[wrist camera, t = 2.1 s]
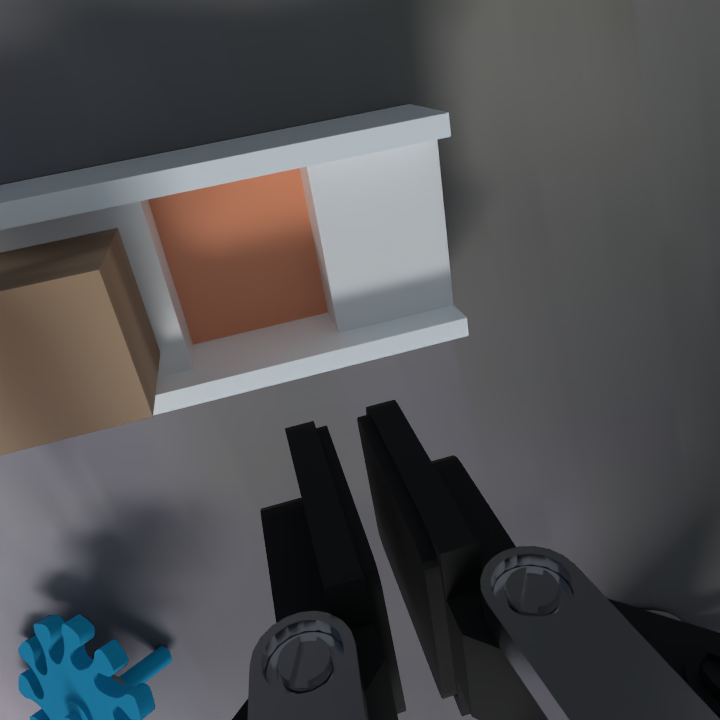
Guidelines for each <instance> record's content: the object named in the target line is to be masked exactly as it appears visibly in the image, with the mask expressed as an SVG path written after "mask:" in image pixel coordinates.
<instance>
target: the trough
mask: <svg viewBox="0 0 720 720" xmlns="http://www.w3.org/2000/svg"><path fill="white" fill-rule="evenodd" d="M447 137H451V132H450V121H449V113H448V112H444V111H439V110H435V109H431V108H426V107H422V106H417V105H413V104H407V105H402V106H397V107H392V108H387V109H382V110H376V111H371V112H366V113H361V114H356V115H351V116H346V117H341V118H336V119H331V120H326V121H321V122H316V123H311V124H306V125H301V126H296V127H291V128H286V129H281V130H276V131H271V132H266V133H261V134H256V135H250V136H245V137H240V138H235V139H230V140H225V141H220V142H215V143H210V144H205V145H200V146H195V147H190V148H185V149H180V150H175V151H170V152H165V153H160V154H155V155H150V156H145V157H140V158H135V159H129V160H124V161H119V162H114V163H109V164H104V165H99V166H94V167H89V168H84V169H79V170H74V171H69V172H64V173H59V174H54V175H49V176H44V177H39V178H34V179H29V180H24V181H19V182H14V183H8V184H3V185H0V253H1V252H6V251H11V250H15V249H20V248H25V247H30V246H34V245H39V244H44V243H49V242H53V241H58V240H63V239H67V238H72V237H77V236H82V235H86V234H91V233H96V232H100V231H105V230H110V229H115V228H118V230H119V233H120V236H121V239H122V242H123V245H124V248H125V251H126V253H127V256H128V259H129V262H130V265H131V268H132V271H133V274H134V277H135V280H136V283H137V286H138V289H139V292H140V294H141V297H142V300H143V303H144V306H145V309H146V312H147V315H148V318H149V321H150V324H151V327H152V330H153V333H154V335H155V338H156V341H157V344H158V347H159V350H160V360H159V369H158V377H157V386H156V395H155V403H154V412H153V415H157V414H160V413H164V412H168V411H172V410H176V409H180V408H184V407H188V406H192V405H196V404H200V403H204V402H208V401H212V400H216V399H220V398H224V397H228V396H232V395H236V394H240V393H244V392H248V391H252V390H255V389H259V388H263V387H267V386H271V385H275V384H279V383H283V382H287V381H291V380H295V379H299V378H303V377H307V376H311V375H315V374H319V373H323V372H327V371H331V370H335V369H339V368H343V367H346V366H350V365H354V364H358V363H362V362H366V361H370V360H374V359H378V358H382V357H386V356H390V355H394V354H398V353H402V352H406V351H410V350H414V349H418V348H422V347H426V346H430V345H434V344H438V343H441V342H445V341H449V340H453V339H457V338H461V337H465V336H468V325H467V317H466V316H464V315H463V314H462V313H461V312H460V311H459V310H458V309H457V308H456V307H455V306H454V305H453V295H452V284H451V274H450V264H449V254H448V243H447V233H446V223H445V213H444V203H443V192H442V182H441V172H440V162H439V151H438V141H437V139H442V138H447Z"/></svg>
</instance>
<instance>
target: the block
mask: <svg viewBox="0 0 720 720" xmlns="http://www.w3.org/2000/svg"><path fill="white" fill-rule="evenodd" d="M159 360H160V350H159V347H158V344H157V341H156V338H155V335H154V333H153V330H152V327H151V324H150V321H149V318H148V315H147V312H146V309H145V306H144V303H143V300H142V297H141V294H140V292H139V289H138V286H137V283H136V280H135V277H134V274H133V271H132V268H131V265H130V262H129V259H128V256H127V253H126V251H125V248H124V245H123V242H122V239H121V236H120V233H119V230H118V228H115V229H110V230H105V231H100V232H96V233H91V234H86V235H82V236H77V237H72V238H67V239H63V240H58V241H53V242H49V243H44V244H39V245H34V246H30V247H25V248H20V249H15V250H11V251H6V252H1V253H0V455H4V454H8V453H12V452H16V451H20V450H24V449H27V448H31V447H35V446H39V445H43V444H47V443H51V442H55V441H59V440H63V439H67V438H71V437H75V436H79V435H83V434H87V433H91V432H95V431H99V430H103V429H107V428H111V427H114V426H118V425H122V424H126V423H130V422H134V421H138V420H142V419H146V418H150V417H153V412H154V403H155V395H156V386H157V377H158V369H159Z"/></svg>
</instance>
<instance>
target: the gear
mask: <svg viewBox="0 0 720 720" xmlns="http://www.w3.org/2000/svg"><path fill="white" fill-rule="evenodd" d="M34 631H35V634H36V635H35V636H33V637H31V638H30V639H28V640H26V641H24V642H23V643H22V644H21V645H20V647H19V649H18V650H19V653H20V655H21V657H22V658H23V660H24V661H25V662H26V663H27V664H28V665H29V666H30V667H31V668H30V669H28V670H26V671H25V672H23V673H22V674H20V676H19V691H20V692H21V694H22V695H23V696H24V697H26V698H29V699H31V700H33V701H34V702H36V703H37V704H38V705H39V706H40V707H41V708H42V709H41V710H39V711H38V712H36V713H35V714H34V715H32V716H31V717H30V720H142V719H143V718H145V717H146V716H147V715H148V714H149V713H151V712H152V711H153V710H154V709H155V704H154V699H153V696H152V693H151V690H150V687H149V686H148V685H147V684H145V682H146V681H148V680H149V679H150V678H151V677H153V676H154V675H155V674H157V673H158V672H159V671H160V670H162V669H163V668H164V667H166V666H167V665H168V664H169V663H170V662H171V660H172V657H171V654H170V652H169V650H168V649H167V648H165V647H163V646H161V647H159V648H158V649H156V650H155V651H154V652H152V653H151V654H150V655H148V656H147V657H146V658H144V659H143V660H142V661H140V662H139V663H137V664H136V665H135V666H133V667H132V668H131V669H129V670H128V671H127V672H125V673H124V674H123V675H121V676H120V677H117V676H115V675H113V674H115V673H116V672H117V671H119V670H120V669H121V668H123V667H124V666H126V665H127V663H128V661H129V660H128V658H127V655H126V653H125V652H124V650H123V648H122V647H121V645H120V644H119V643H118V641H117V640H116V639H113V640H111V641H110V642H108V643H107V644H105V645H104V646H102V647H101V648H99V649H98V650H96V651H95V654H94V660H93V659H91V658H90V657H89V656H88V654H87V652H86V650H85V643H86V642H88V641H89V640H91V639H92V638H93V637H94V635H95V629H94V626H93V625H92V624H91V623H90V622H89V621H88V620H87V619H86V618H84V617H83V616H81V615H80V614H78V615H77V616H75V617H73V618H72V619H70V620H68V621H67V622H64V620H63V618H62V617H60V616H57V615H49V616H47V617H46V618H44V619H42V620H40V621H39V622H37V623H35V624H34ZM63 640H64V642H63Z"/></svg>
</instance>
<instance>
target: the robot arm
mask: <svg viewBox="0 0 720 720" xmlns="http://www.w3.org/2000/svg"><path fill="white" fill-rule="evenodd" d="M366 414H367V415H365V416H361V417H358V418H357V421H358V427H359V432H360V437H361V443H362V448H363V453H364V458H365V464H366V469H367V474H368V479H369V484H370V490H371V495H372V500H373V505H374V511H375V516H376V521H377V526H378V531H379V535H380V538H381V541H382V544H383V547H384V550H385V552H386V555H387V558H388V560H389V563H390V565H391V568H392V571H393V573H394V576H395V578H396V581H397V584H398V586H399V589H400V591H401V594H402V597H403V599H404V602H405V604H406V607H407V610H408V612H409V615H410V617H411V620H412V623H413V625H414V628H415V630H416V633H417V636H418V638H419V641H420V644H421V646H422V649H423V651H424V654H425V657H426V659H427V662H428V664H429V667H430V670H431V672H432V675H433V677H434V680H435V683H436V685H437V688H438V690H439V693H440V695H441V697H442V698H443V699H444V698H447V697H450V696H454V698H455V701H456V703H457V705H458V708H459V710H460V713H461V715H462V716H465V715H468V714H470V713H471V715H472V717H474V718H476V719H478V720H720V633H718V632H714V631H711V630H708V629H705V628H701V627H698V626H695V625H692V624H688V623H685V622H682V621H681V620H680V619H679V618H678V617H676V616H674V615H672V614H669V613H667V612H662V611H656V610H643V609H640V608H637V607H633V606H630V605H627V604H624V603H620V602H617V601H614V600H611V599H608V598H606V597H605V596H604V595H603V594H602V593H601V592H600V591H599V589H598V588H597V587H596V586H595V585H594V584H593V583H592V582H591V581H590V580H589V579H588V578H587V577H586V576H585V575H584V573H583V572H582V571H581V570H580V569H579V568H578V567H577V566H576V565H575V564H574V563H573V562H571V561H570V560H569V559H568V558H566V557H565V556H564V555H562V554H559V553H557V552H555V551H553V550H550V549H546V548H541V547H536V546H519V547H516V546H515V545H514V543H513V542H512V540H511V539H510V537H509V536H508V534H507V533H506V531H505V529H504V528H503V526H502V525H501V523H500V522H499V520H498V519H497V517H496V516H495V514H494V513H493V511H492V510H491V508H490V507H489V505H488V503H487V502H486V500H485V499H484V497H483V496H482V494H481V493H480V491H479V490H478V488H477V487H476V485H475V484H474V482H473V481H472V479H471V477H470V476H469V474H468V473H467V471H466V470H465V468H464V467H463V465H462V464H461V462H460V461H459V460H458V458H457V457H456V456H449V457H446V458H442V459H438V460H435V461H431V460H430V459H429V457H428V455H427V454H426V452H425V450H424V448H423V447H422V445H421V443H420V442H419V440H418V438H417V436H416V435H415V433H414V431H413V429H412V428H411V426H410V424H409V423H408V421H407V419H406V417H405V416H404V414H403V412H402V411H401V409H400V407H399V405H398V404H397V402H396V401H395V400H392V401H388V402H384V403H380V404H376V405H372V406H369V407H366ZM285 431H286V435H287V439H288V443H289V447H290V451H291V455H292V460H293V464H294V468H295V472H296V476H297V480H298V484H299V489H300V493H301V497H302V498H298V499H295V500H291V501H287V502H284V503H280V504H277V505H273V506H270V507H266V508H262V509H261V519H262V526H263V533H264V540H265V547H266V553H267V560H268V567H269V574H270V581H271V588H272V595H273V602H274V609H275V616H276V624H274V625H272V626H271V627H270V628H269V629H268V630H267V631H266V632H265V633H264V635H263V636H262V637H261V638H260V639H259V641H258V643H257V645H256V647H255V648H254V650H253V653H252V658H251V662H250V671H249V695H248V699H247V701H246V702H245V703H244V705H243V706H242V707H241V708H240V710H239V711H238V712H237V714H236V715H235V716H234V718H233V719H232V720H398V717H397V714H398V713H401V712H404V711H406V706H405V701H404V696H403V691H402V686H401V681H400V676H399V671H398V666H397V661H396V656H395V651H394V646H393V641H392V635H391V630H390V625H389V620H388V615H387V610H386V605H385V600H384V595H383V590H382V585H381V581H380V577H379V574H378V570H377V566H376V563H375V560H374V557H373V554H372V551H371V548H370V546H369V543H368V540H367V537H366V534H365V532H364V529H363V526H362V523H361V520H360V518H359V515H358V512H357V509H356V506H355V504H354V501H353V498H352V495H351V492H350V490H349V487H348V484H347V481H346V478H345V476H344V473H343V470H342V467H341V464H340V461H339V459H338V456H337V453H336V450H335V447H334V445H333V442H332V439H331V436H330V433H329V431H328V428H327V426H323V427H319V428H316V427H315V424H314V421H312V422H308V423H304V424H300V425H296V426H292V427H289V428H285Z"/></svg>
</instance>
